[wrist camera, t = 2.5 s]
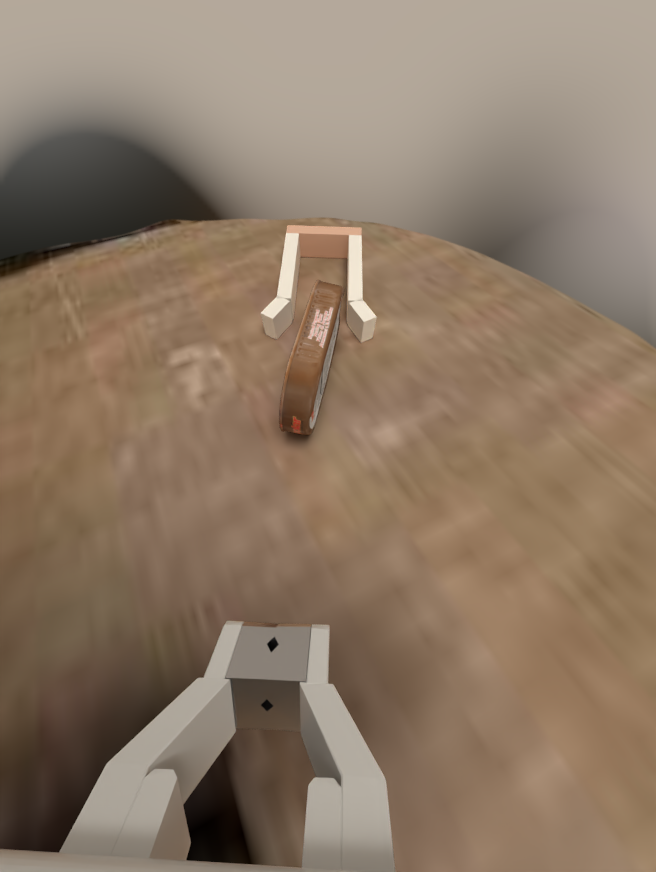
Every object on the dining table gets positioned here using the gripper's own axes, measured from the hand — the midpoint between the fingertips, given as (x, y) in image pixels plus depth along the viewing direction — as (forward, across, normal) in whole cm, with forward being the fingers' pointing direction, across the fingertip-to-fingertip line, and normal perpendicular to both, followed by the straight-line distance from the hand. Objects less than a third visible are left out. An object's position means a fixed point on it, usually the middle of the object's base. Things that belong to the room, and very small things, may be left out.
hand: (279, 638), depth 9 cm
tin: (+26, +1, -3) cm, 26 cm away
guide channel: (+36, +1, -13) cm, 38 cm away
